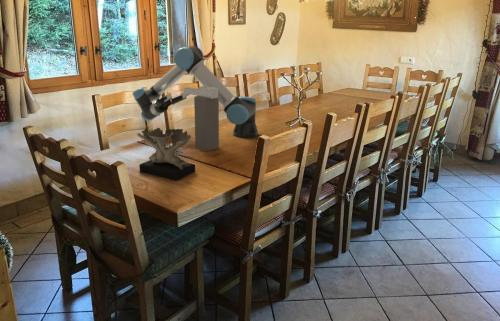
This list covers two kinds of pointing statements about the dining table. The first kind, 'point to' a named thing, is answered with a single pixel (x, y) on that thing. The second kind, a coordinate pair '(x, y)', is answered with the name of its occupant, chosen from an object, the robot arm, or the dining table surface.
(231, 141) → the dining table surface
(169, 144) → the coral branch
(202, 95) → the jaw bar
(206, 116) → the stand
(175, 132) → the coral
